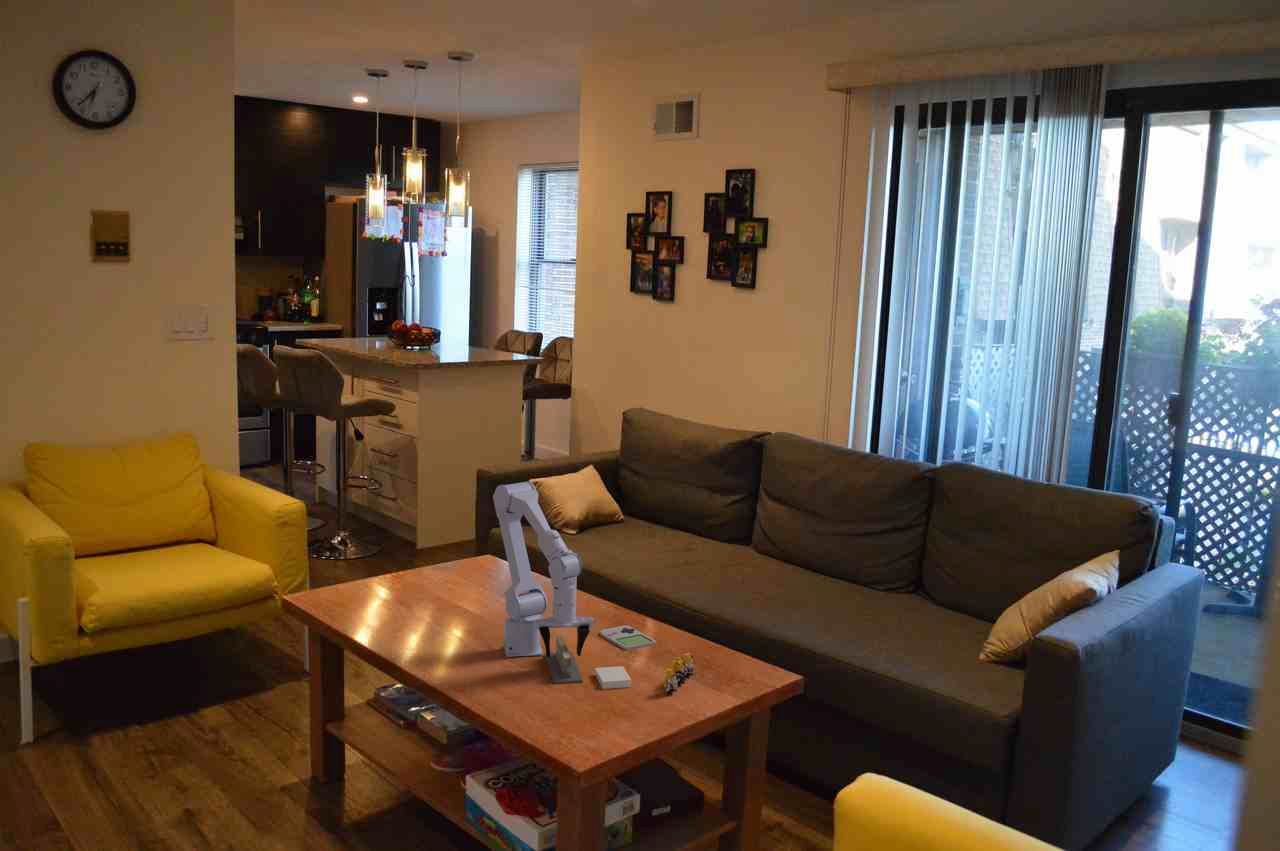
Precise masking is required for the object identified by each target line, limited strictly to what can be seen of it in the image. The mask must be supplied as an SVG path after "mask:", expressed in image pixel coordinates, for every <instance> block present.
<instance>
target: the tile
mask: <svg viewBox="0 0 1280 851" xmlns="http://www.w3.org/2000/svg"><path fill="white" fill-rule="evenodd" d="M594 675H595V677H596V679H597V682H598V683H599V685H600V687H601V689H603V690H608V689H625V688H632V678H631V677H630V675H629V674H628V672H627V671H626V668H625V667H624V666H623V665H621V666H608V667H605V666H604V667H595V670H594Z"/></svg>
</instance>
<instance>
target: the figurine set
mask: <svg viewBox="0 0 1280 851" xmlns="http://www.w3.org/2000/svg"><path fill="white" fill-rule="evenodd" d="M693 659H694V655H693V652H690V651H687V652H686V653H685V654H683V655H682V657H681V656H679V657H677V658H676V659H675V660H672V661H671V663H670V664H669V668H667V669H665V670H666V671H665V672H664V674H665V677H664V686H663V687H664V689H665V691H666V694H668V695H667V696H669V695H673V692H672V691H677V690H678V688H679V687H681V688H682V685H681V683H684V682H686V683H687V681H686V680H687V679H689V678H690V676H689V675H693V674H694V673H693V672H694V671H695V670H694V660H693ZM693 676H694V675H693ZM686 678H687V679H686ZM684 684H685V683H684ZM677 686H678V687H677ZM677 692H678V691H677Z"/></svg>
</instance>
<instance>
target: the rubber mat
mask: <svg viewBox="0 0 1280 851" xmlns="http://www.w3.org/2000/svg"><path fill="white" fill-rule="evenodd" d="M569 653H570V656H571V678H564V676H563V673H562V670H561V667H560V664H559V662H558V659H557V656H556V651H555V652H550V657H547V656H546V652H544V658H545V660H546V663H547V666H548V670H549V672H550V675H551V679H552V681H553V684H554V685H555V684H556V685H557V684H573V683H583V682H584V680H583V677H582V675H581V673H580V669H579V667H578V664H577V662H576V659H575V656H574V654H573V652H572V651H569Z"/></svg>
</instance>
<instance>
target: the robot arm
mask: <svg viewBox="0 0 1280 851" xmlns="http://www.w3.org/2000/svg"><path fill="white" fill-rule="evenodd" d="M492 500H493V504H494V509H495V513H496V518H498V521H499V527H500V530H501V536H502V540H503V545H504V550H505V555H506V560H507V563H508V568H509V572H510V574H509V575H510V577H511V579H510V580H511V583H512V584H510V586H509V587H508V589H507V590H506V591H505V593H504V594H505V611H506V614H507V615H508V617H509V618H504V621H503V622H504V623H503V640H502V644H503V645H502V646H503V650H504V653H505V656H506V657H508V658H509V657H530V656H543V655H544V653H543V649H542V646H541V638H542V640H543V643H544V647H545V653H546V656H547V657H550V653H551V648H550V646H551V632H550V629H557V628H558V629H559V628H563V629H564V628H565V629H566V628H568V629H569V628H577V629H576V630H577V632H576V634H577V640H576V654H577V657H580V656H581V655H582V649H583V648H584V644H585V642H586V640H587V638H588V636H589V634H590V631H591V630H590V628H594V618H593V617H591V616H590V617H587V616H586V617H585V616H577V581H578V580H577V578H578V577H579V575H580V574H581V573H582V570H583V565H582V561H581V558H580V556H579V555H578V553H576V552H573V550H571V549H568V547H567V545H566V543H565V542H564V540H563V538H562V536H561V535H560V533H559V532H558V531H557V530H555V529H551V527H550V524H549V523H548V521H547V519H546V516H545V515H544V512H543V511H542V509H541V507H540V504H539V493H538V491H537V488H536V486H535V484H534V483H532V482H531V481H524V482H517V483H510V484H509V483H508V484H499V485H497V487H496V488H495V491H494V493H493V495H492ZM523 516H524V517H525V519H526V521H527V522H528V524H529V525H530V526H531V527H532V528H533V530H534V532H535V533H536V535H537V536H538V538H537V544H538V547H539V548H540V550H541V552H542V553H543V554H544V556H545V558H546V559H547V562H548V564H549V565H548V566H547V567H548V573H549V575H550V578H551V582H550V583H551V586H553V587H552V588H553V589H552V616H551V617H546V618H543V617H544V615H543V614H544V613H546V611H547V610H548V605H549V604H548V602H549V601H548V598H547V596H546V594H545V592H544V590H543V586H542V584H541V583H540V582H538V581H536V580H535V579H533V576H532V570H531V564H530V561H529V556H528V552H527V547H526V543H525V537H524V533H523V527H522V524H521V523H522V522H521V519H522V517H523ZM523 592H524V593H523Z"/></svg>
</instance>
